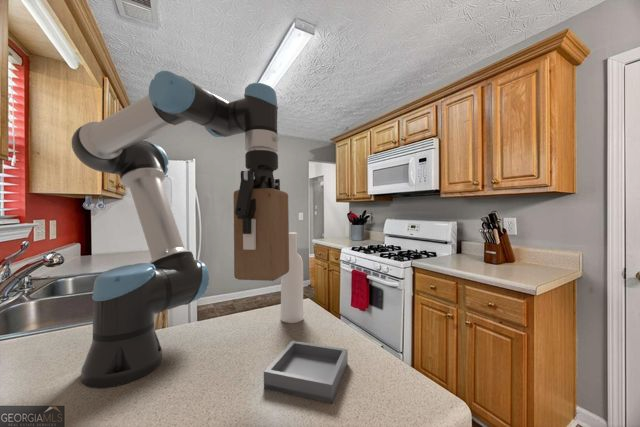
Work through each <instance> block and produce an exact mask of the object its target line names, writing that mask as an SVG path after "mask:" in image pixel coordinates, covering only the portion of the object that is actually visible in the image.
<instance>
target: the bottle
mask: <svg viewBox="0 0 640 427" xmlns="http://www.w3.org/2000/svg"><path fill="white" fill-rule="evenodd" d="M298 238H299V235H298V232H289V271H288V273H286V274H284V275H283V276H281V277H280V321H282V323H283V322H284V323H286V324H296V323H300V322H302V320H304V261H303V258H302V256H301V255H300V254H299V253H298Z"/></svg>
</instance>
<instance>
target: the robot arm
mask: <svg viewBox="0 0 640 427" xmlns="http://www.w3.org/2000/svg"><path fill="white" fill-rule="evenodd" d="M277 95H278V94H277V91H276V90H275V88H273V87H272V86H271V85H269V84H267V83H264V82H252V83H249V84H248V85H247V86H246V87H245V89H244V93H243V96H244V97H243V98H240V99H237V100H233V101H227V100H225V99H224V98H222V97H220V96H218V95H216V94H215V93H212V92H210V91H209V90H207V89H205V88H203V87H201V86H199V85H197V84H196V83H194V82H192V81H190V80H189V79H188V78H186V77H184V76H181V75H178V74H177V73H174V72H172V71H169V70H160V71H159V72H157V73H156V74H155V75H154V78H153V79H151V81H150V83H149V86H148V95H145V96H144V97H142V98H140V99H138V100H137V101H134V102H133V103H131V104H129V105H128V106H126V107H124V108H122V109H120V110H118V111H116V112H115V113H113V114H112V115H110V116H108V117H106V118H105V119H102V120H101V121H90V122H87V123H85V124H82V125H81V126H80V127H78V128H77V129H76V130H75V132H73V135H72V137H71V148H72V151H73V154H74V155H75V156H76V158H77V159H78V160H79V161H80V162H81V163H82V164H83V165H85V166H86V167H88V168H90V169H93V170H94V171H97V172H100V173H101V172H102V173H105V174H106V173H107V174H113V175H118V176H119V179H120V181H121V184H122V185H123V186H124V187H126V188H128V189H130V191H129V192H130V193H131V197H132V199H133V203H134V206H135V209H136V212H137V215H138V219H139V221H140V224H141V228H142V229H141V230H142V231H143V234H144V239H145V241H146V242H145V243H146V244H147V248H148V251H149V254H150V258H151V260H150V261H149V262H146V263H145V262H144V263H143V262H141V263H134V264H127V265H126V264H125V265H122V266H117V267H114V268H110V269H108V270H105V271H103V272H102V273H100V274H99V275H98V276H97V277H96V278H95V280H94V282H93V288H92V289H93V290H92V295H91V298H92V341H91V344H90V347H89V349H88V352H87V355H86V357H85V360H84V364H83V365H82V366H81V370H80V375H81V376H80V378H81V379H80V381H81V384H82V385H83V386H84V387H88V388H92V389H95V388H96V389H103V388H110V387H111V388H112V387H115V386H121V385H125V384H127V383H130V382H133V381H135V380H138V379H140V378H142V377H145V376H147V375H149V374H150V373H151V372H153V371H155V370H156V369H157V368H158V367H159V366H160V365H161V363H162V361H163V349H162V346H161V344H160V341H159V338H158V335H157V333H156V329H155V315H157V314H159V313H163V312H165V311H168V310H173V309H175V308H178V307H180V306H186V305H189V304H191V303H193V302H195V301H198V300H199V299H201V298H202V297H203V296H204V295H205V293H206V292H207V290H208V287H209V284H210V274H209V272H210V271H209V269H208V267H207V264H205V263H204V262H203V261H202V260H199V259H195V257H194V254H193V252H192V251H191V250H189V249H186V248H185V246H184V242H183V240H182V236H181V234H180V232H179V229H178V228H179V227H178V225H177V222H176V220H175V216H174V214H173V211H172V208H171V205H170V202H169V200H168V197H167V193H166V190H165V188H164V185H163V181H164V180H165V177H166V175H167V173H168V171H169V166H168V165H169V158H168V155H167V153H166V152H165V150H164V149H163V148H162V147H161V146H160V145H157V144H155V143H152V142H150V141H147V139H149V138H152V137H153V136H155V135H158V134H159V133H162V132H166V131H167V130H169V129H171V128H174V127H176V126H178V125H180V124H183V123H185V122H187V121H190V122H193V123H194V124H198V125H200V126H203V127H204V128H205V130H206V131H207V132H208V133H209V134H210V135H211V136H213V137H214V138H227V137H231V136H234V135H239V134H244V145H245V146H244V150H245V156H244V157H245V169H246V170H240V185H239V189H238V190H239V194H238V199H237V205H236V210H235V214H236V215H237V217H238V219H242V225H243V250H255V249H256V219H252V218H253V216H254V213H255V210H256V199H252V200H251V196H252V190H253V189H264V188H273V189H276V190H280V191H281V180H280V178H275V177H274V172H275V171H277V170H278V169H279V155H278V153H277V152H279V151H278V148H279V145H278V144H279V143H278V141H279V137H278V111H279V110H278V109H279V107H278V97H277ZM241 208H243V209H242V210H241Z"/></svg>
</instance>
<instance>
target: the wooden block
mask: <svg viewBox="0 0 640 427" xmlns="http://www.w3.org/2000/svg"><path fill="white" fill-rule="evenodd" d="M238 194H239V189H236V190H235V191H234V192H233V269H234V271H233V273H234V274H233V275H234V278H235V279H236V280H238V281H265V282H267V281H270V282H271V281H272V282H273V281H276V280H278V279H280V278H281V276H283V275H284V274H286V273H288V271H289V233H290V231H289V230H290V229H289V227H290V226H289V195H288V193H287V192H285V191H282V190H281V189H280V190H276V189H273V188H264V189H253V190H252V196H251V200H252V199H256V210H255V213H254V216H253V218H252V219H256V249H255V250H243V225H242V219H238V217H237V215H236V214H235V210H236V205H237V199H238ZM242 209H243V208H241V210H242Z"/></svg>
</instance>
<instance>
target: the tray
mask: <svg viewBox="0 0 640 427" xmlns="http://www.w3.org/2000/svg"><path fill="white" fill-rule="evenodd" d="M348 355H349V354H348V348H341V347H335V346H329V345H323V344H315V343H310V342H303V341H295V340H291V341H290V342H289V343H288V344H287V346H286V347H284V349H283V350H282V351H281V352H280V353H279V355H278V356H277V357H275V359H274V360H273V361H272V362H271V363H270V364H269V365H268V366H267V368H265V370H264V371H263V389H264V390H268V391H272V392H277V393H282V394H286V395H291V396H295V397H299V398H304V399H309V400H314V401H319V402H321V403H327V404H333V402H334V400H335V397H336V395H337V392H338V389H339V387H340V384H341V381H342V379H343V376H344V373H345V371H346V369H347V366H348V362H349V360H348Z"/></svg>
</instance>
